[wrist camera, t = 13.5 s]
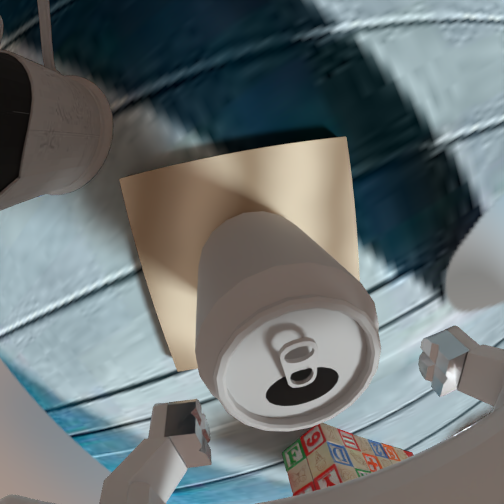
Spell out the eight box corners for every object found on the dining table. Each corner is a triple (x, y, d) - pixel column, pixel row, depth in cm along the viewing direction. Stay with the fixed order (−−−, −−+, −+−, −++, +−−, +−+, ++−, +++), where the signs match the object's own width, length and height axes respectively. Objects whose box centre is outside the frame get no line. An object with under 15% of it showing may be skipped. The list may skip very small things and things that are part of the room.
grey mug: (8, 191, 19) (-140, 250, 5) (38, 15, 15) (-77, -58, 1) (105, 199, 21) (-30, 285, 6) (140, 7, 17) (76, -130, 2)
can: (215, 324, 23) (228, 461, 12) (185, 224, 20) (162, 317, 9) (315, 297, 23) (393, 410, 12) (298, 197, 21) (399, 254, 10)
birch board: (337, 137, 21) (346, 136, 20) (353, 320, 26) (360, 329, 25) (124, 177, 20) (119, 179, 19) (178, 360, 25) (177, 371, 24)
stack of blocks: (412, 450, 36) (449, 508, 25) (382, 475, 37) (412, 534, 26) (317, 420, 30) (356, 514, 18) (279, 452, 31) (304, 543, 19)
